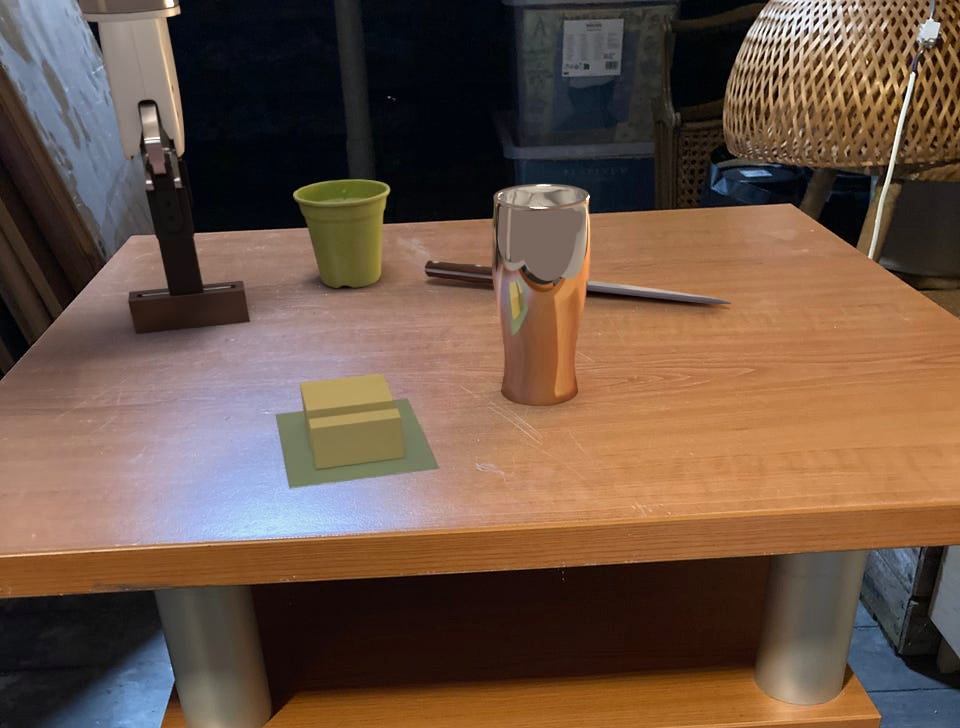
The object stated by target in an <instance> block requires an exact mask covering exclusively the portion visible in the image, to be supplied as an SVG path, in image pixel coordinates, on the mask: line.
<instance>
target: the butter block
mask: <svg viewBox="0 0 960 728" xmlns="http://www.w3.org/2000/svg"><path fill="white" fill-rule="evenodd" d="M299 389H300V396H301V404H302V409H303V410H302V411H304V417H305V423H306V427H307V432H308V436H309V440H310V444H311V449H312V451H313V448H312V441H311V434H310V427H309V419H314V418H322V417H331V416H339V415H347V414H355V413H363V412H371V411H379V410H387V409H395V407H394V400H395V399H394V396H393V395H392V393H391V389H390V388H389V385H388V383H387V381H386V379H385V376H384V373H383V372H380V373H370V374H363V375H354V376H347V377H346V376H345V377H336V378H329V379H328V378H327V379H320V380H319V379H318V380H312V381H302V382H299Z"/></svg>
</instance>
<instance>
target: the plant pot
mask: <svg viewBox="0 0 960 728" xmlns="http://www.w3.org/2000/svg"><path fill="white" fill-rule="evenodd" d="M390 192H391V188H390V186H389V185H388V184H387V183H384V182H381V181H376V180H371V179H370V180H368V179H355V178H354V179H338V180H327V181H320V182H316V183H311V184H308V185H305V186H302V187H300V188H298V189H297V190H295V191H294V192H293V194H292V196H293V199H294V201H295V202H297V203H298V206H299V209H300V212H301V214H302V216H303V217H304V219H305V223H306V225H307V230H308V233H309V237H310V238H309V239H310V241H311V244H312V249H313V252H314V256H315V261H316V264H317V268H318V272H319V276H320V279H321V282H322V284H324V285H325V286H328V287H331V288H335V289H337V288H338V289H339V288H341V287H342V286H348V287H350V288H353V289H356V288H357V289H358V288H362V287H366V286H369V285H373V284H375V283H376V282H378V281H379V279H380V277H381V276H382V259H383V258H382V257H383V226H384V211H385V210H386V205H387V197H388V196H389V194H390Z"/></svg>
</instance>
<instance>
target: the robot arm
mask: <svg viewBox="0 0 960 728" xmlns="http://www.w3.org/2000/svg"><path fill="white" fill-rule="evenodd" d="M78 4H79V7H80V8H79V9H80V11H81V17H82V21H84V22H85V21H86V22H91V23H97V26H98V27H97V28H98V35H99V41H100V47H101V53H102V58H103V63H104V68H105V72H106V77H107V83H108V87H109V91H110V96H111V101H112V105H113V110H114V114H115V119H116V123H117V128H118V129H117V130H118V133H119V138H120V143H121V148H122V153H123V157H124V158H125V159H126V160H127V161H128V162H130V163H133V162H134V161H135V157H137V156H139V154H140V157H141V162H142V168H143V174H144V178H145V184H146V188H147V189H145V195H146V199H147V203H148V208H149V211H150V213H149V214H150V216H151V221H152V226H153V230H154V234H155V238H156V239H157V241H158V240H160V241H165V240H175V239H185V238H192V237H193V236H194V237H195V234H196V233H195V226H194V222H193V218H192V216H193V215H192V212H191V210H192V209H193V208H194V199H193V194H192V190H191V185H190V180H189V175H188V170H187V165H186V160H183V157H182V155H183V154H184V152H185V130H184V129H185V128H184V117H183V107H182V102H181V101H182V100H181V94H180V88H179V81H178V76H177V75H178V74H177V69H176V63H175V58H174V54H173V48H172V43H171V37H170V33H169V26H168V22H167V18H169V17H174V16H177V15H180V14H181V13H182V12H181V7H180V3H179V0H78Z"/></svg>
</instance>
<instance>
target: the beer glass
mask: <svg viewBox="0 0 960 728" xmlns="http://www.w3.org/2000/svg"><path fill="white" fill-rule="evenodd" d="M590 217H591V216H590V193H589V192H588V191H587V190H585V189H583V188H581V187H577V186H573V185H568V184H557V183H531V184H521V185H515V186H509V187H505V188H503V189H501V190H499V191H496V192H495V194H494V195H493V212H492V227H491V229H492V230H491V267H492V278H493V284H492V286H493V293H494V299H495V304H496V310H497V315H498V320H499V327H500V330H501V336H502V342H503V343H502V344H503V352H504V353H503V354H504V368H503V376H502V382H501V389H500V393H501V395H502V396H503V398H505V400H507V401H509V402H510V403H513V404H517V405H523V406H528V407H550V406H551V407H552V406H557V405H562V404H564V403H567V402H570V401H571V400H573V399H574V398H576V396H577V395H578V393H579V388H578V387H579V385H578V380H577V374H576V373H577V372H576V349H577V341H578V337H579V333H580V332H579V331H580V327H581V322H582V317H583V313H584V307H585V303H586V297H587V291H588V290H587V285H588V280H589V279H590V267H591V220H590V219H591V218H590Z"/></svg>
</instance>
